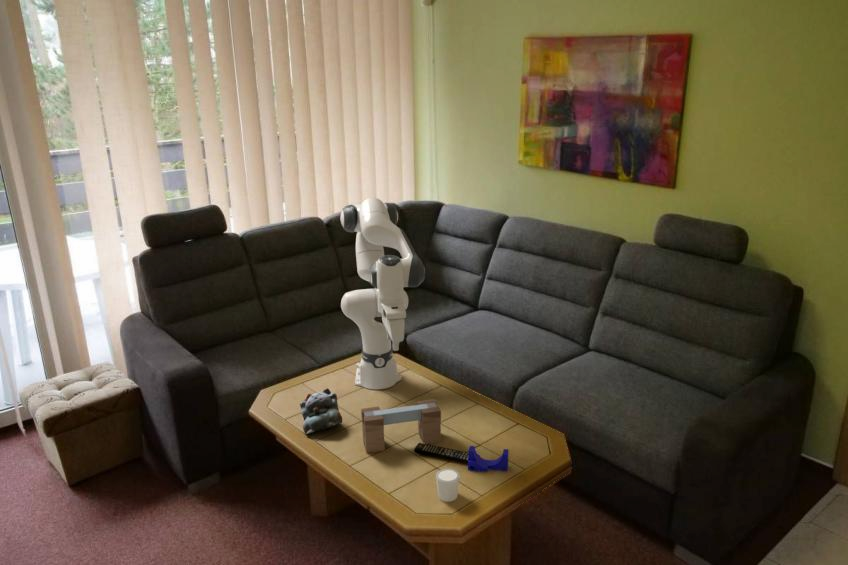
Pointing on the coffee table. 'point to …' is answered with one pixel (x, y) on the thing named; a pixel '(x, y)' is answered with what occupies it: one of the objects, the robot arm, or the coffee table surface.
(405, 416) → the bed rail
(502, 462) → the cable clip
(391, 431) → the coffee table surface
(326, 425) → the lucky cat figurine
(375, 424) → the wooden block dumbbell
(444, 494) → the shot glass
